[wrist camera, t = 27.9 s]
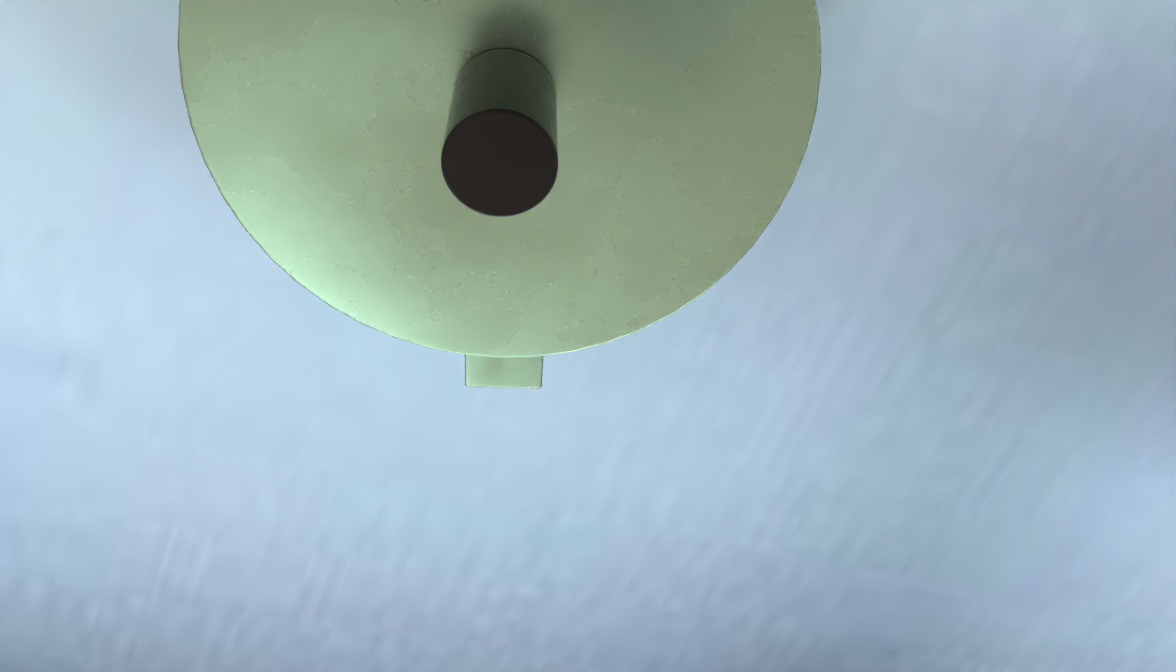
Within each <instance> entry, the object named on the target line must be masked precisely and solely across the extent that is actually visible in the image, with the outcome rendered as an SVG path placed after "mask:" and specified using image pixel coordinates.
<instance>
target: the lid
mask: <svg viewBox="0 0 1176 672" xmlns="http://www.w3.org/2000/svg"><path fill="white" fill-rule="evenodd" d="M178 52H179V63H180V73H181V84H182V89H183V93H184V98H185V102H186V106H187V111H188V115H189V119H190V123H191V127H192V129H193V132H194V135H195V137H196V140H197V143H198V145H199V148H200V151H201V153H202V156H203V159H204V161H205V164H206V166H207V168H208V169H209V171H210V173H211V175H212V177H213V179H214V181H215V183H216V185H217V187H218V188H219V190H220V192H221V194H222V196H223V198H224V199H225V201H226V202H227V204H228V205H229V207H230V208H231V209H232V211H233V212H234V214H235V215H236V217H237V218H238V220H239V221H240V222H241V224H242V225H243V227H244V228H245V230H246V231H247V232H248V233H249V234H250V235H251V236H252V238H253V239H254V240H255V241H256V242H257V243H258V244H259V246H260V247H261V248H262V249H263V250H264V251H265V252H266V253H267V255H268V256H269V257H270V258H271V259H272V260H273V261H274V262H275V263H277V264H278V265H279V266H280V267H281V268H282V269H283V270H284V271H285V272H287V273H288V274H289V275H290V276H291V277H292V278H293V279H294V280H296V281H297V282H298V283H299V284H300V285H302V286H303V287H304V288H306V289H307V290H309V291H310V292H311V293H313V294H314V295H316V296H317V297H318V298H320V299H321V300H323V301H324V302H326V303H327V304H328V305H330V306H331V307H333V308H335V309H337V310H339V311H340V312H342V313H344V314H346V315H348V316H349V317H351V318H353V319H355V320H357V321H358V322H360V323H362V324H364V325H367V326H369V327H372V328H374V329H376V330H379V331H381V332H383V333H386V334H388V335H391V336H393V337H395V338H398V339H402V340H405V341H408V342H412V343H415V344H418V345H422V346H425V347H428V348H432V349H438V350H443V351H449V352H454V353H459V354H465V355H476V356H489V357H535V356H544V355H551V354H558V353H566V352H573V351H577V350H581V349H584V348H588V347H592V346H596V345H600V344H604V343H608V342H610V341H613V340H616V339H618V338H621V337H624V336H627V335H629V334H632V333H635V332H637V331H640V330H642V329H644V328H646V327H648V326H650V325H652V324H654V323H656V322H658V321H660V320H662V319H664V318H666V317H667V316H669V315H671V314H673V313H674V312H676V311H677V310H679V309H680V308H682V307H684V306H685V305H687V304H688V303H690V302H691V301H693V300H694V299H696V298H697V297H699V296H700V295H702V294H703V293H704V292H705V291H706V290H707V289H709V288H710V287H711V286H712V285H713V284H715V283H716V282H717V281H718V280H719V279H721V278H722V277H723V276H724V275H725V274H726V273H728V272H729V271H730V270H731V269H732V267H733V266H734V265H735V264H736V263H737V262H738V261H739V260H740V259H741V258H742V257H743V256H744V255H745V254H746V252H747V251H748V250H749V249H750V248H751V247H752V246H753V245H754V244H755V242H756V241H757V239H758V238H759V237H760V235H761V234H762V232H763V231H764V230H765V228H766V227H767V226H768V224H769V223H770V221H771V220H772V219H773V217H774V216H775V214H776V212H777V211H778V209H779V207H780V205H781V203H782V202H783V200H784V198H785V196H786V194H787V193H788V191H789V189H790V187H791V185H792V183H793V181H794V179H795V176H796V174H797V171H798V169H799V166H800V164H801V161H802V159H803V156H804V153H805V151H806V148H807V145H808V141H809V137H810V133H811V129H812V125H813V121H814V117H815V113H816V109H817V100H818V92H819V83H820V74H821V48H820V25H819V19H818V13H817V7H816V0H180V5H179V27H178Z"/></svg>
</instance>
